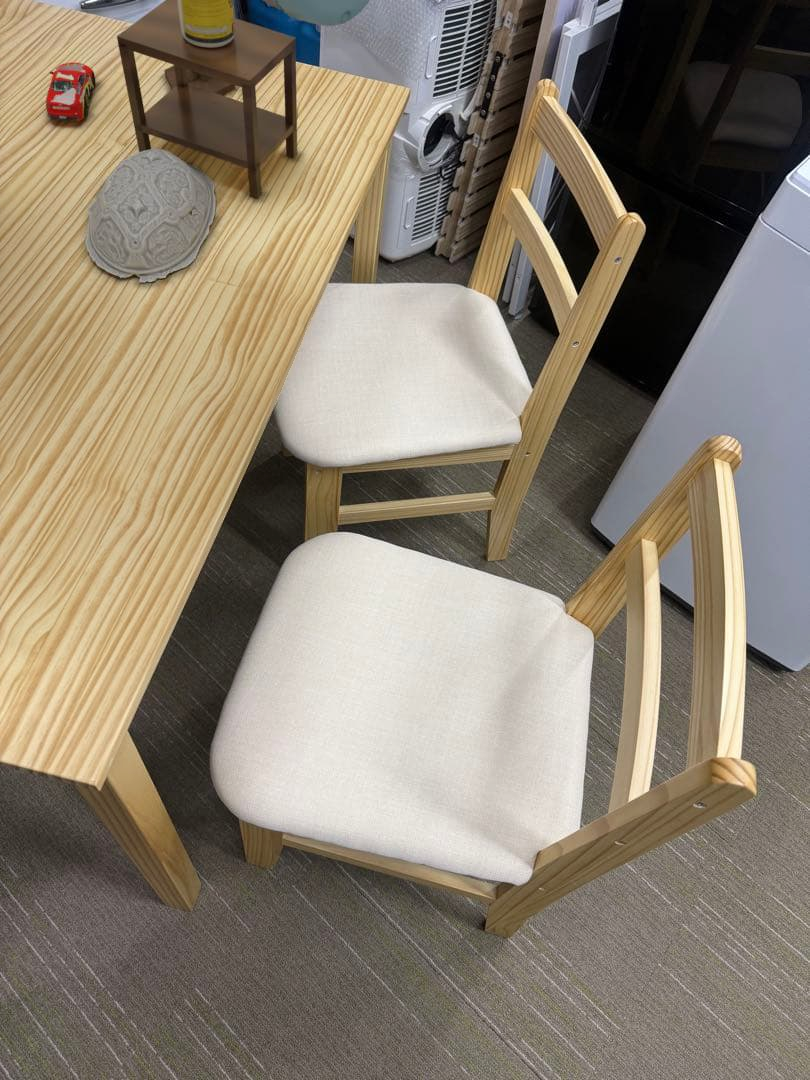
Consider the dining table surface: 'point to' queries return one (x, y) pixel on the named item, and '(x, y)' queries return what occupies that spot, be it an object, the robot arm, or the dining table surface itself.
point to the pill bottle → (207, 22)
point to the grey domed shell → (150, 216)
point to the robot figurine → (200, 81)
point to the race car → (70, 92)
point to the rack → (206, 114)
